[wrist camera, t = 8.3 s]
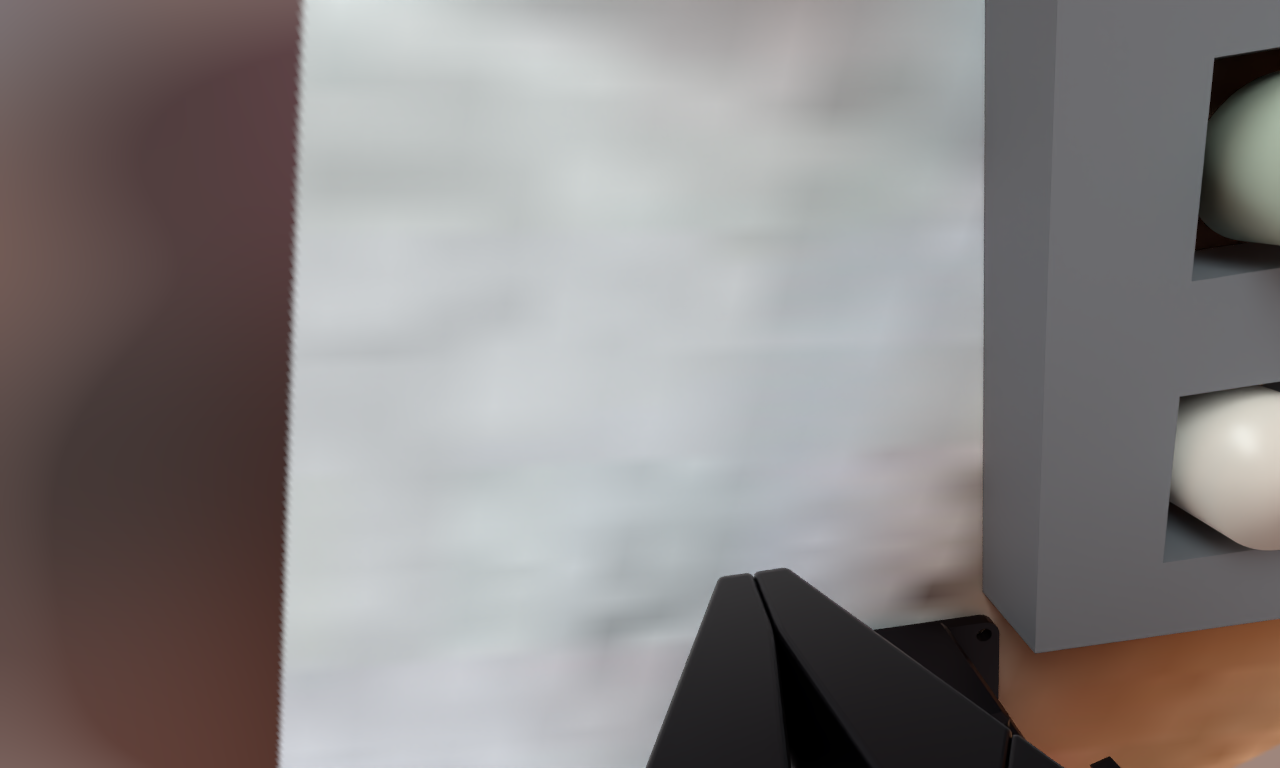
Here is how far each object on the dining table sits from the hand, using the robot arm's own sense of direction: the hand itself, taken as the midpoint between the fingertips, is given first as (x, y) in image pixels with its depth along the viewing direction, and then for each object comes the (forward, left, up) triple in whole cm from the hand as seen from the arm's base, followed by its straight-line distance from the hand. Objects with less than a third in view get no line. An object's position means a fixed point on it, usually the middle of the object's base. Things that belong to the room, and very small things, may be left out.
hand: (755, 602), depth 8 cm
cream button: (-5, -15, -11) cm, 19 cm away
